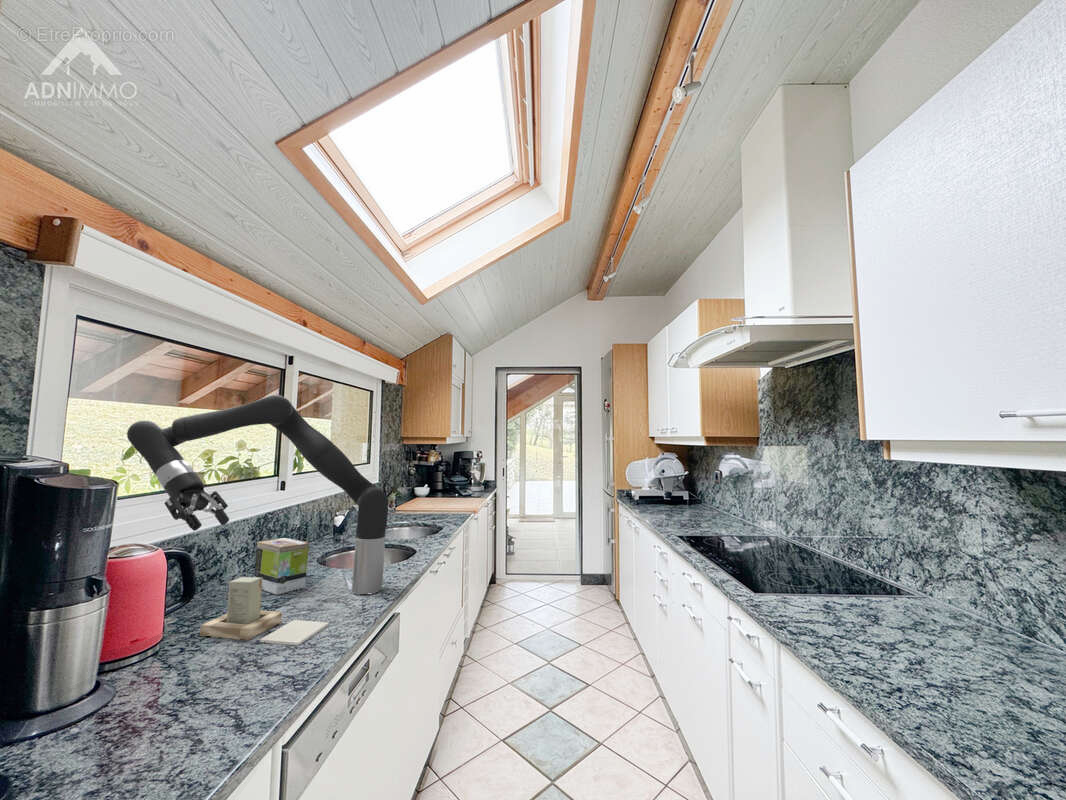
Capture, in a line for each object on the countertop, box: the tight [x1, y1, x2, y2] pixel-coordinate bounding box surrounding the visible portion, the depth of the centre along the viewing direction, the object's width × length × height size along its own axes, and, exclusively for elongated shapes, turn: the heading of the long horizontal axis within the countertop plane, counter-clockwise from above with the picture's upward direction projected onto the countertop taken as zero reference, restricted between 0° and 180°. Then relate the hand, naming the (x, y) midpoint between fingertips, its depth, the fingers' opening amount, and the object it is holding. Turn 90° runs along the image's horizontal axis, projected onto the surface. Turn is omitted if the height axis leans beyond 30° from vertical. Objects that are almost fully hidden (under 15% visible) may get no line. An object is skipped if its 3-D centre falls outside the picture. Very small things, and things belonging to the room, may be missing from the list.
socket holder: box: [199, 610, 283, 641], centre depth 109 cm, size 11×13×2 cm
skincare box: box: [226, 576, 263, 625], centre depth 110 cm, size 6×4×12 cm
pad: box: [259, 619, 330, 646], centre depth 107 cm, size 12×10×1 cm
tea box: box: [253, 537, 310, 596], centre depth 142 cm, size 15×10×15 cm, turn 58°
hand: (212, 525), depth 114 cm, fingers open, 8 cm apart
